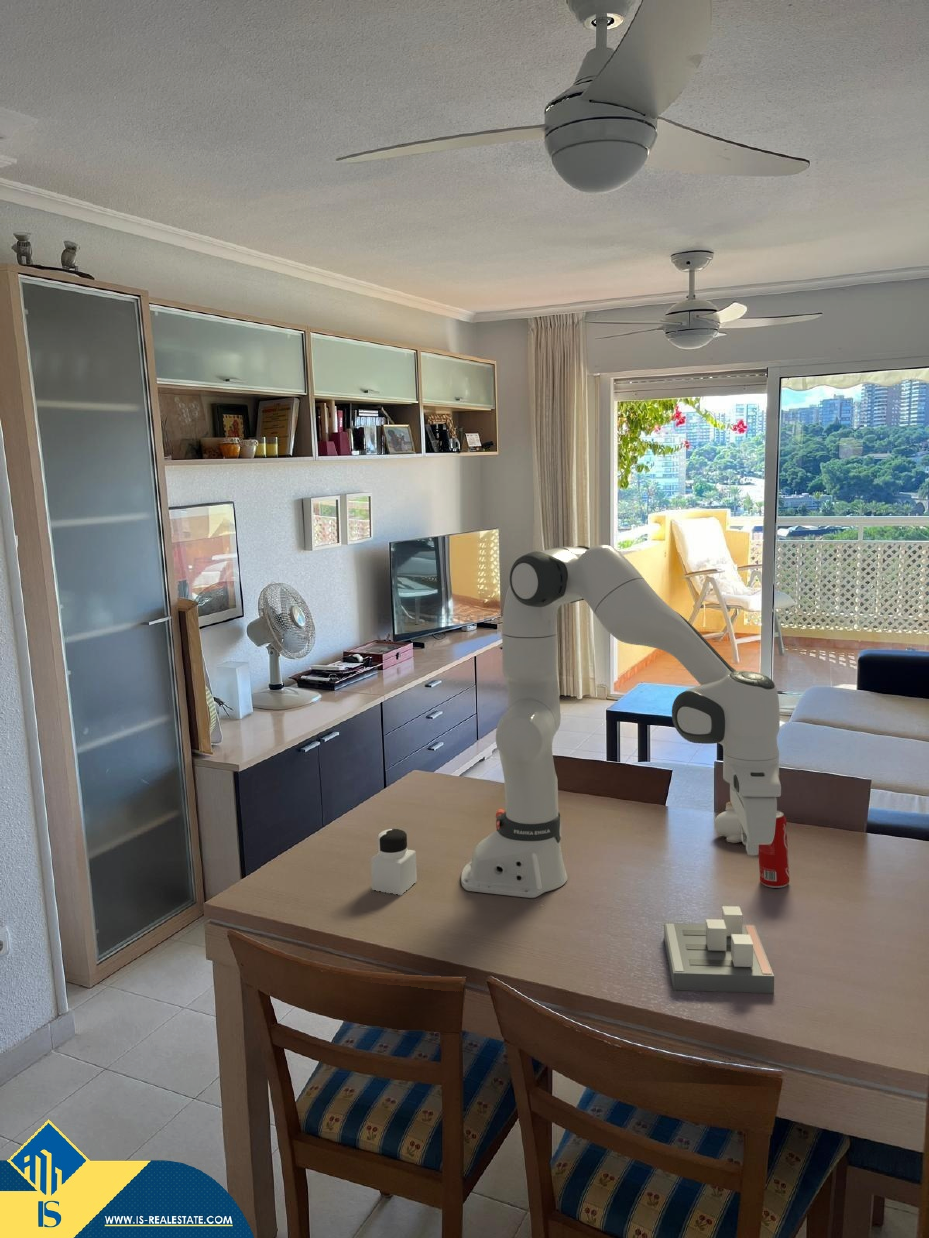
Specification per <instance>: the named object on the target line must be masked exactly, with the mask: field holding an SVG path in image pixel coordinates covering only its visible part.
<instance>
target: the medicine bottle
mask: <svg viewBox="0 0 929 1238" xmlns="http://www.w3.org/2000/svg"><path fill="white" fill-rule="evenodd" d="M407 836H408V834H407V832H405V830H403V829H399V828H389V829H384V830H383V831H381V832H380V833H378V836H377V843H378V845H377V848H378V853H377V854H375V855H374V856H372V857H371V858H370V870H371V873H370V874H371V888H372V889H371V890H372V891H374V890H376V891H375V892H379V891H381V892H380V893H385V892H386V893H385V894H390V893H393V894H392V895H396V894H398V895H397V896H402V895H404V894H405V893H406V892H407V891H408V890H409V889H410V888H412V887H413V886H414V885H415V884H416V883H417V882H418V877H417V876H418V875H417V873H418V872H417V871H418V870H417V854H416V850H413V849H408V837H407ZM414 883H415V884H414ZM413 884H414V885H413ZM412 885H413V886H412ZM406 890H407V891H406ZM404 892H405V893H404ZM403 893H404V894H403Z"/></svg>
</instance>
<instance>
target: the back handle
mask: <svg viewBox="0 0 929 1238" xmlns="http://www.w3.org/2000/svg"><path fill="white" fill-rule="evenodd" d="M721 920H724V923H725V926H726V936H731V934H742V925H743V913H742V909H741V907H740V906H728V905H727V906H726V905H724V906H723V905H722V906H721Z"/></svg>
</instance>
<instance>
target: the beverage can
mask: <svg viewBox="0 0 929 1238" xmlns="http://www.w3.org/2000/svg"><path fill="white" fill-rule="evenodd" d="M784 813H785V812H783V811H781V810H779V809H777V814H776V825H775V834H774V839H773V842H772V843H771V844H767V845H760V844H759V853H758V867H759V868H758V869H759V870H758V871H759V881H760V884H762V885H764V886H765V887H769V888H774V889H775V888H777V889H778V888H779V889H780V888H784V887H787V886H788V884H789V883H790V863H789V847H788V830H787V829H788V828H787V818H786V817H785V814H784Z"/></svg>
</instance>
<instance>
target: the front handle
mask: <svg viewBox="0 0 929 1238" xmlns="http://www.w3.org/2000/svg"><path fill="white" fill-rule="evenodd" d="M731 958H732V961H733V964H734V966H737V967H753V942H752V940H751V937H750V935H746V934H731Z"/></svg>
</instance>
